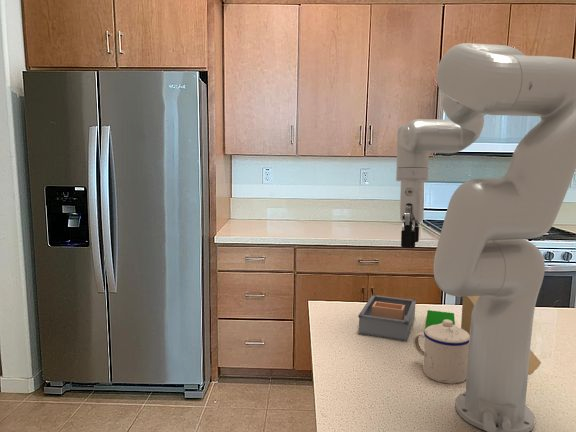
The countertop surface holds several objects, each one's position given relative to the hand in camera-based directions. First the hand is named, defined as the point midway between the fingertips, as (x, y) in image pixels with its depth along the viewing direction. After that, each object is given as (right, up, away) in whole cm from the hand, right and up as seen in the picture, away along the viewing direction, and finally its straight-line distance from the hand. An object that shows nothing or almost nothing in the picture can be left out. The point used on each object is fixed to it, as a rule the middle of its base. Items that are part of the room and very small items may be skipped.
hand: (410, 244), depth 110 cm
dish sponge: (+11, -23, +9) cm, 27 cm away
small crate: (-3, -22, +9) cm, 24 cm away
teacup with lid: (+2, -26, -16) cm, 31 cm away
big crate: (-3, -22, +9) cm, 24 cm away
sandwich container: (+18, -26, -9) cm, 32 cm away
